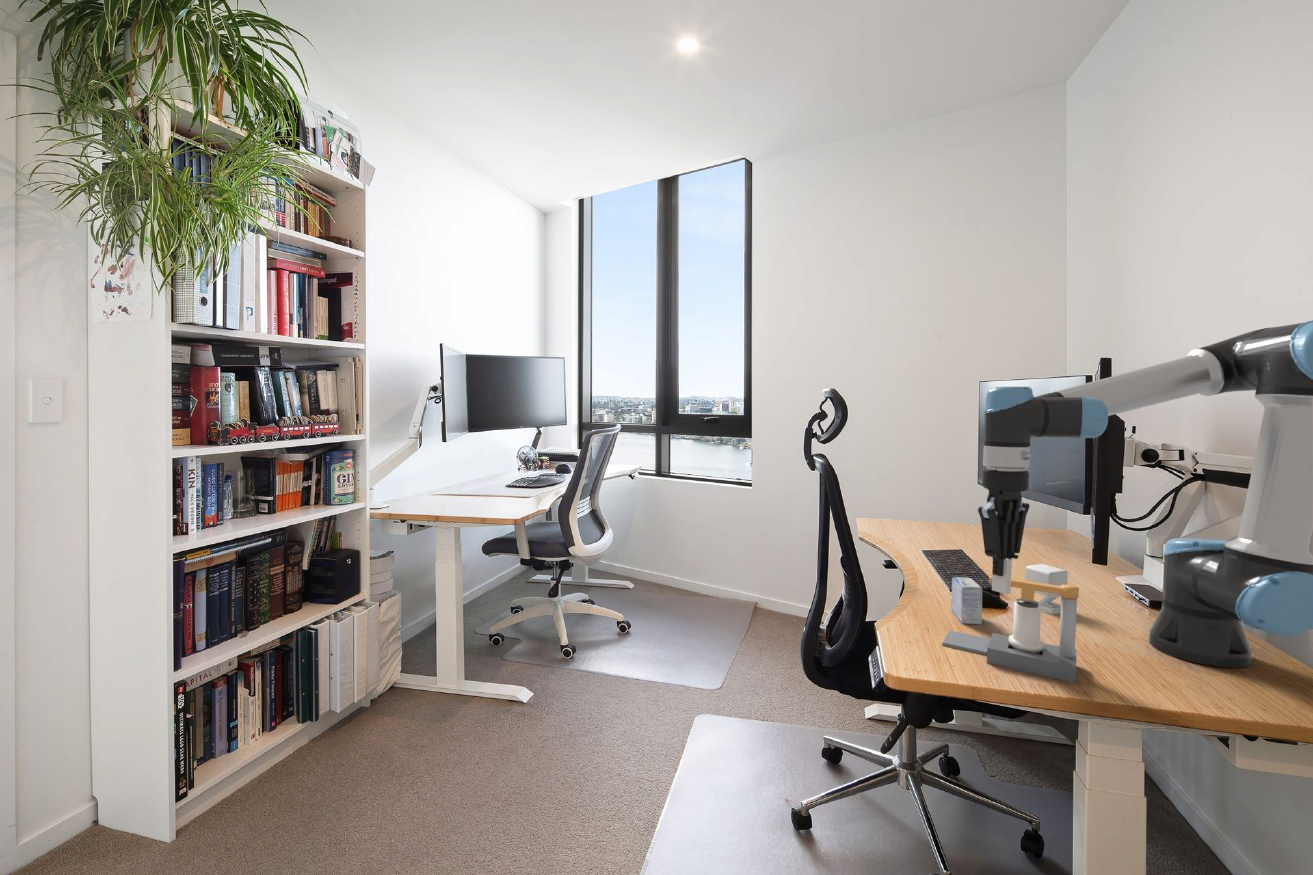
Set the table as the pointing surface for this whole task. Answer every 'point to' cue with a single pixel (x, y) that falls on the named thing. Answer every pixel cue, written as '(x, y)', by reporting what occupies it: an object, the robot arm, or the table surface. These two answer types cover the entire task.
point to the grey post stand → (1050, 660)
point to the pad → (966, 642)
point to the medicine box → (966, 600)
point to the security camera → (1047, 576)
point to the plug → (1026, 627)
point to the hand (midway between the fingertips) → (1001, 591)
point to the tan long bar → (1042, 589)
